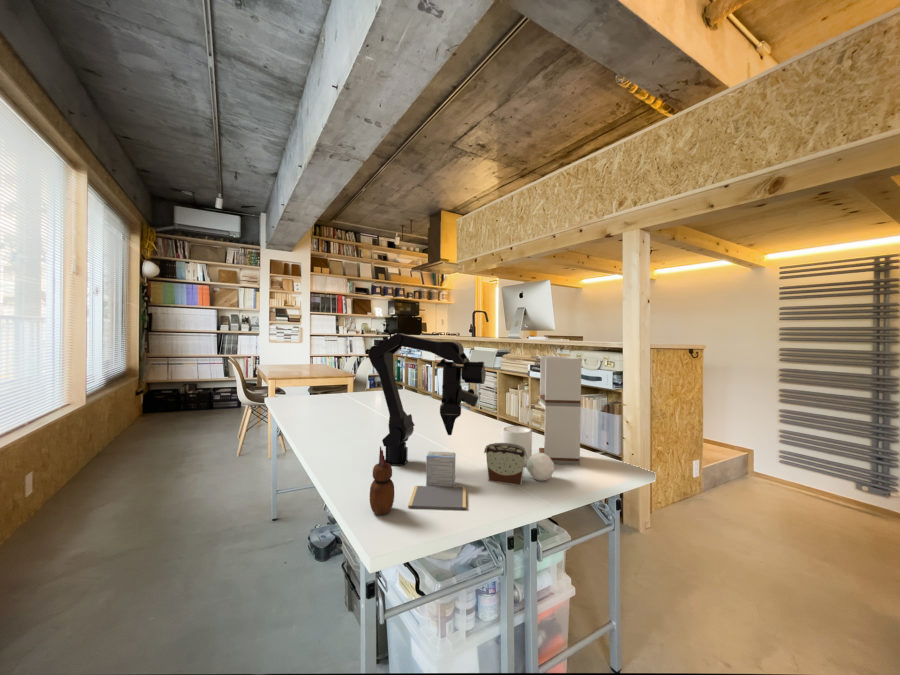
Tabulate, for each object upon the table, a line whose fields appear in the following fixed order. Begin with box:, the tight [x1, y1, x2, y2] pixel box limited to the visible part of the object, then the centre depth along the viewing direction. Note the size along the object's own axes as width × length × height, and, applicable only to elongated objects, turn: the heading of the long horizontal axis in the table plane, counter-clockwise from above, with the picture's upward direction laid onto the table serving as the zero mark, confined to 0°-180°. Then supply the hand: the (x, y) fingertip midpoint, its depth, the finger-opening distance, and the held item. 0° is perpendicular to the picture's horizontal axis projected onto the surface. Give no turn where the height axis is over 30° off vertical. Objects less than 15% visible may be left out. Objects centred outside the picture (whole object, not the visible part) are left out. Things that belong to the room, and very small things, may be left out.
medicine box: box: [425, 451, 457, 487], centre depth 106 cm, size 8×4×9 cm, turn 84°
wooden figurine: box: [369, 446, 395, 516], centre depth 89 cm, size 7×6×15 cm
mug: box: [500, 425, 533, 467], centre depth 128 cm, size 14×10×11 cm
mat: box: [407, 485, 467, 511], centre depth 97 cm, size 14×12×1 cm
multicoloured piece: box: [483, 442, 527, 486], centre depth 110 cm, size 12×6×10 cm, turn 71°
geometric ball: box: [526, 452, 555, 481], centre depth 111 cm, size 8×8×8 cm
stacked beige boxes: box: [538, 355, 582, 466], centre depth 129 cm, size 11×11×35 cm
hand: (449, 431), depth 118 cm, fingers open, 9 cm apart
